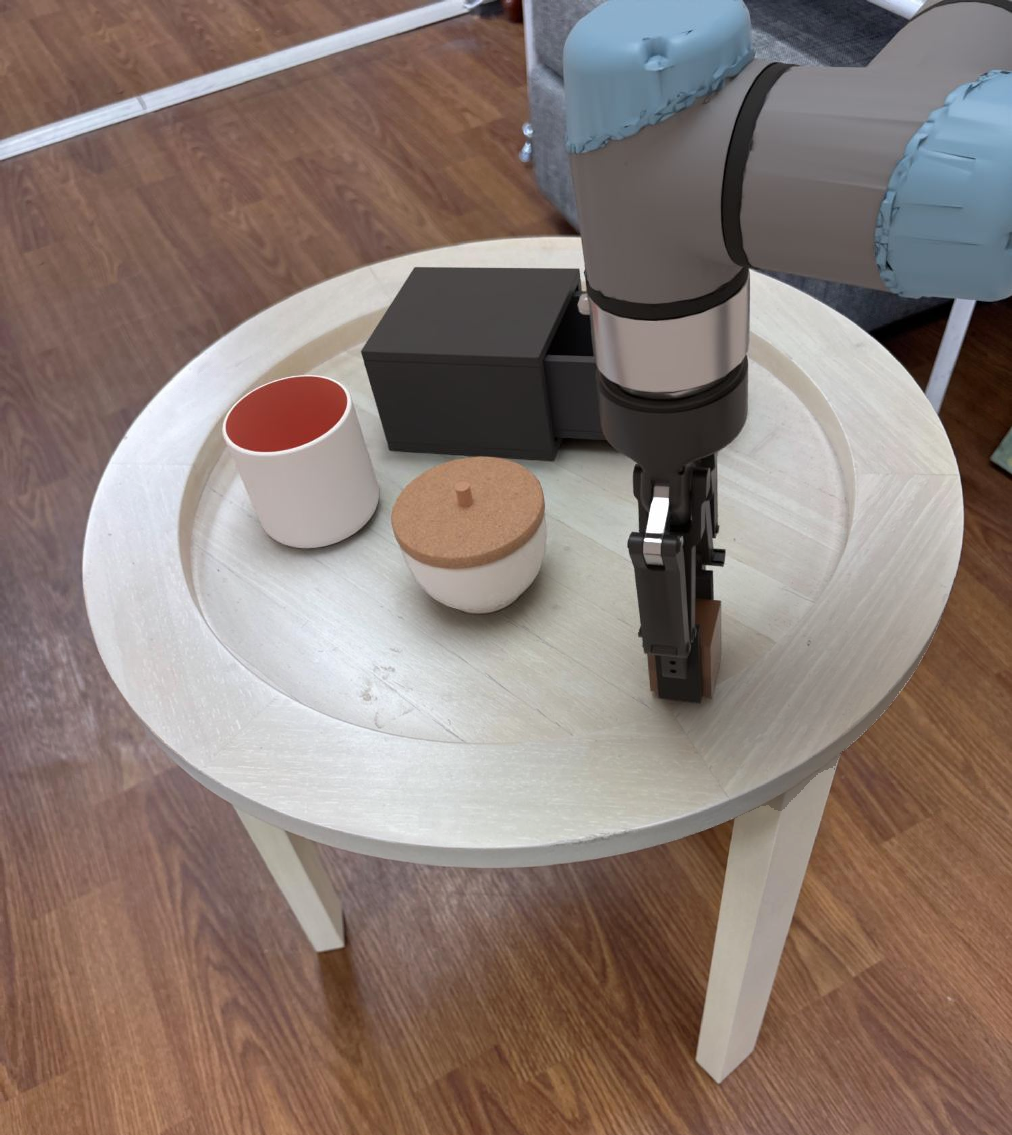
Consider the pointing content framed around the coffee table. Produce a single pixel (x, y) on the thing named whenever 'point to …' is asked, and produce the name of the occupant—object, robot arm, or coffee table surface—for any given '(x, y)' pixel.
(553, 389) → the pull-out drawer
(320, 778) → the coffee table surface
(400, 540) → the trinket box
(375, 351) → the dark drawer box
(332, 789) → the coffee table surface
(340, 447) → the cup
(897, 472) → the coffee table surface
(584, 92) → the robot arm
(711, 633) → the block
